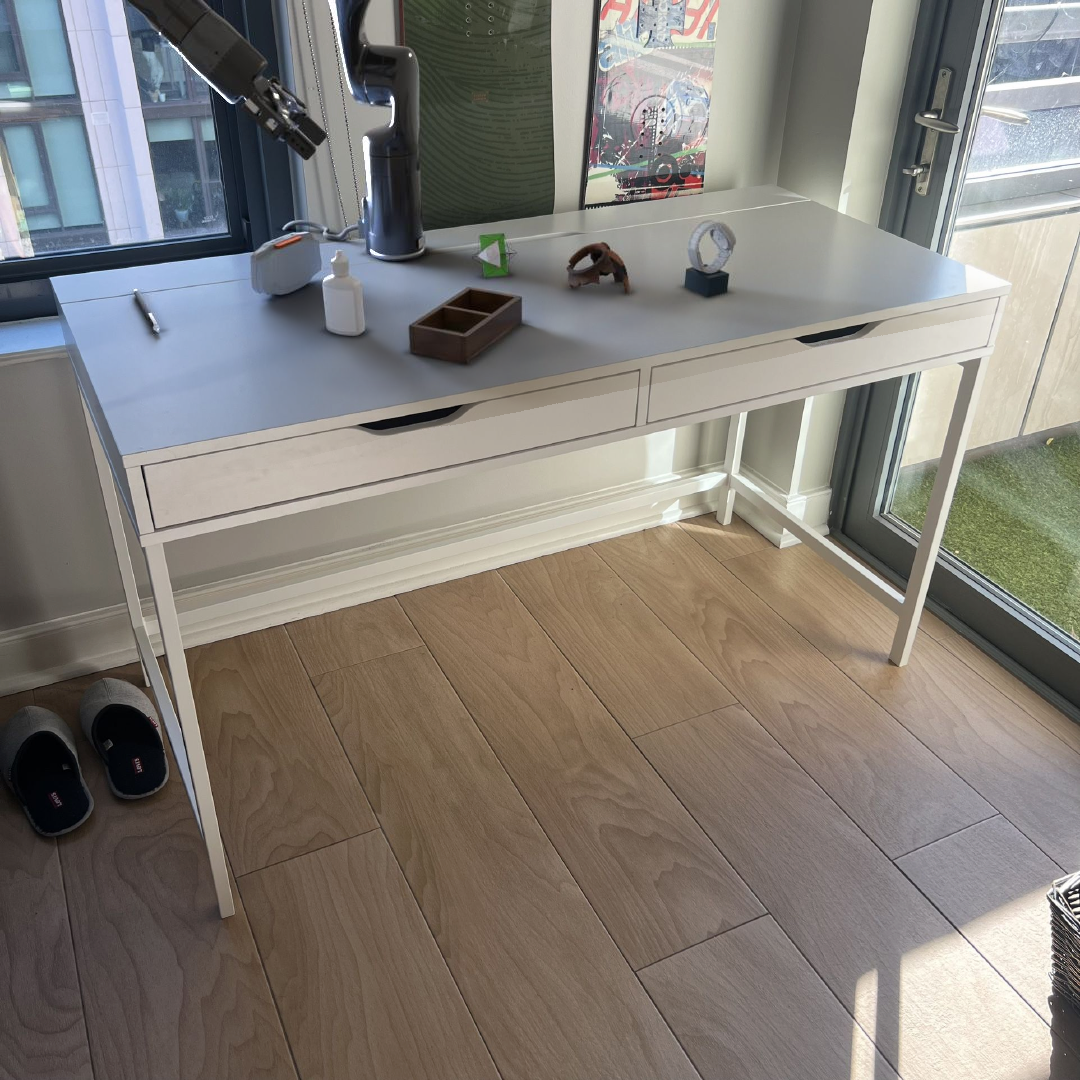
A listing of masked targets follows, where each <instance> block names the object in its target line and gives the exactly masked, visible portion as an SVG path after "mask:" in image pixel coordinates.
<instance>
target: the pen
mask: <svg viewBox="0 0 1080 1080" xmlns="http://www.w3.org/2000/svg"><path fill="white" fill-rule="evenodd" d="M133 294H134V297H135V298H136V300H137V303H139V304H138V305H140V308H141V309H142V311H143V312H144V314H145V316H146V318H147V320H148V322H149V323H150V326H151V327H152V329H153V331H154V332H157V333H160V332H161V331H160V329H161V327H160V325H159V324H158V322H157V320H156V318H155V317H154V314H153V313H152V311H151V310H150V307H149V306H148V304H147V302H146V301H145V299H144V297H143V295H142V293H141V292H140V290H138V289H137V288H134V290H133Z"/></svg>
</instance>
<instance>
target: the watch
mask: <svg viewBox="0 0 1080 1080" xmlns="http://www.w3.org/2000/svg"><path fill="white" fill-rule="evenodd" d="M706 233H708V235H709V236H710V239H711V240H712V242H713V243H714V244H715V246H716V249H717V250H718V253H717V255H716V256H715V259H714V260H713V261H712V263H710V264H707V263H703V259H702V255H701V252H700V242H701V241H702V238H703V237H704V236H705V234H706ZM736 244H737V239H736V236H735V234H734V232H733V230H732V229H731V228H730V227H729V226H728V225H727V224H726V223H724V222H723V221H720V220H715V221H714V220H711V219H707V220H704V221H702V222H700V223H699V224H697V226H695V228H694V229H693V230H692V233H691V235H690V237H689V240H688V244H687V245H688V247H687V255H688V259H689V262H690V264H691V267H688V268H685V274H684V287H683V288H685V289H686V290H689V291H691V292H693V293H695V294H698V295H700V296H702V297H705V298H711V297H715V296H718V295H719V296H720V295H723V294H727V293H728V289H729V279H730V273H729V272H727V271H724V270H722V268H723V267H724V266H725V265H726V264H727V262H728V261H729V259H730V257H731V255H732V254H733V252H734V247H735V245H736Z"/></svg>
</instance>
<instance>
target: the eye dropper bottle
mask: <svg viewBox="0 0 1080 1080" xmlns="http://www.w3.org/2000/svg"><path fill="white" fill-rule="evenodd" d="M330 266H331V274H329V275H328V276H326V277H325V278H324V279H323V280H322V295H323V305H324V315H325V324H326V329H327V330H328V331H329V332H331V333H333V334H336V335H340V336H350V337H351V336H352V337H354V336H355V337H356V336H359V335H361V334H362V333H363V332H365V330H366V323H365V322H366V321H365V311H364V299H363V298H364V297H363V289H362V288H363V287H362V283H361V281H360V280H358V278H356V277H355V276H353V275H351V274H350V262H349V259H348V257H347V258H346V257H344V254H343V252H342V249H336V250H335V257H333V258H332V259H331V260H330Z"/></svg>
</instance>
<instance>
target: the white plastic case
mask: <svg viewBox="0 0 1080 1080" xmlns="http://www.w3.org/2000/svg"><path fill="white" fill-rule="evenodd" d="M322 265H323V263H322V255H321V249H320V241H319V240H318V239H314V237H313V234H312V232H310V231H300V232H290V233H287V234H285V235H282V236H280V237H278V238H275V239H271V240H270V241H267V242H265V243H263V244H262V245H261V246H260V247H259V248H258V249H257V250H254V252H253V253H252V254H251V255H250V278H251V289H252V290H253V292H255V293H256V294H260V295H261V294H264V295H265V294H266V295H268V296H269V295H279V296H282V295H285V294H286V295H287V294H289V293H292V292H295V291H297V290H299V289H301V288H302V287H304V286H306V285H307V284H309V283H311V280H312V279H313V277H314V276H315V275H317V274H318V273H320V271H321V270H322Z"/></svg>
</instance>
